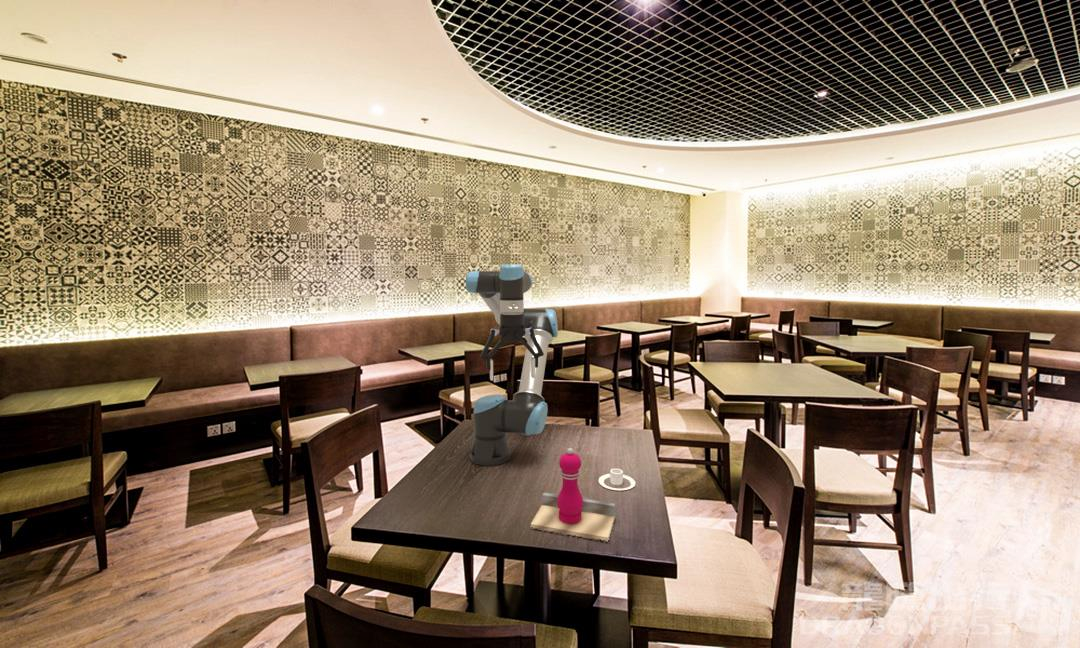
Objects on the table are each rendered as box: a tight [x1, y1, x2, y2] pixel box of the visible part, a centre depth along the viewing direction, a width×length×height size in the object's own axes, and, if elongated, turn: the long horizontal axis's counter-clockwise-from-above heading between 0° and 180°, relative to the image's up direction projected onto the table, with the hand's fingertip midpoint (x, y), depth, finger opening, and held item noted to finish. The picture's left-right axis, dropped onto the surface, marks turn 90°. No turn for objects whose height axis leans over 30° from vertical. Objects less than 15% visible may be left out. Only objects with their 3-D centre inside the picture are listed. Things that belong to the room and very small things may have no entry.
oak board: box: [530, 492, 616, 541], centre depth 123 cm, size 21×12×4 cm, turn 72°
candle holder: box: [598, 468, 637, 491], centre depth 147 cm, size 12×12×4 cm
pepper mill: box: [557, 447, 584, 524], centre depth 123 cm, size 7×7×20 cm
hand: (512, 378), depth 145 cm, fingers open, 13 cm apart
